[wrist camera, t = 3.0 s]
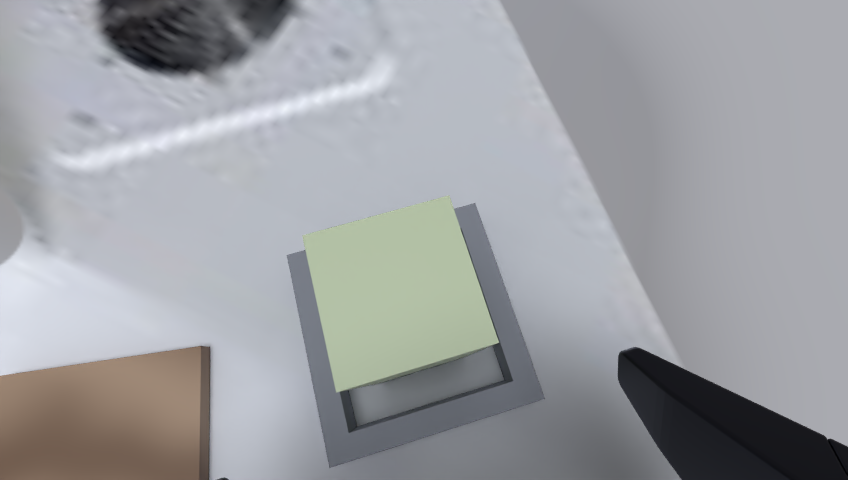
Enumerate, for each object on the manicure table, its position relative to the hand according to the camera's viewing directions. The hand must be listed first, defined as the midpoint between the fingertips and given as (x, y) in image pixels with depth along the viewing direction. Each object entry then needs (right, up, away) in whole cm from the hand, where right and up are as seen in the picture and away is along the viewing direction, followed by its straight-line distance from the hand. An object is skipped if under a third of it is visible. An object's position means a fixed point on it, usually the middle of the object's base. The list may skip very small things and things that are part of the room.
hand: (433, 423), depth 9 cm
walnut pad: (-14, -6, +9) cm, 18 cm away
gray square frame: (-1, 0, +11) cm, 11 cm away
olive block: (-1, 0, +11) cm, 11 cm away
